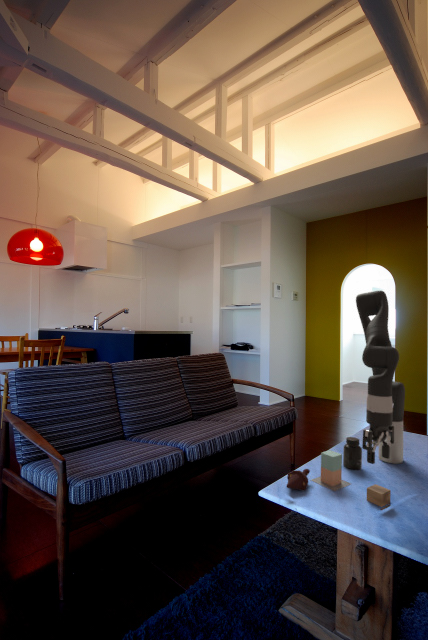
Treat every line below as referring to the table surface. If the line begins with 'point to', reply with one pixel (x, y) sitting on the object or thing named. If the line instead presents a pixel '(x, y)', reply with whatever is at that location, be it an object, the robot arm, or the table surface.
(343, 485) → the plate
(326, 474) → the base brick
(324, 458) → the teal brick
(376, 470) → the table surface
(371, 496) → the walnut brick
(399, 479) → the table surface
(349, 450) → the supplement bottle
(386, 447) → the robot arm
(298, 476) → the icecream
